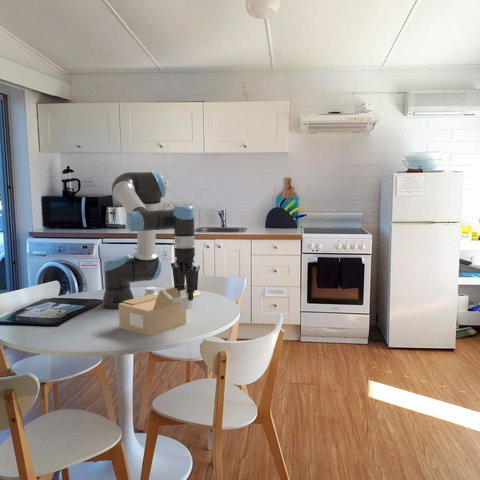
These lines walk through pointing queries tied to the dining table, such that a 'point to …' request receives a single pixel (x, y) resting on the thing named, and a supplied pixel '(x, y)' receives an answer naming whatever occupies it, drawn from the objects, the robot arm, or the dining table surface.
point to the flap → (171, 297)
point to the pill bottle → (150, 291)
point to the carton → (149, 316)
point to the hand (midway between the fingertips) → (186, 307)
